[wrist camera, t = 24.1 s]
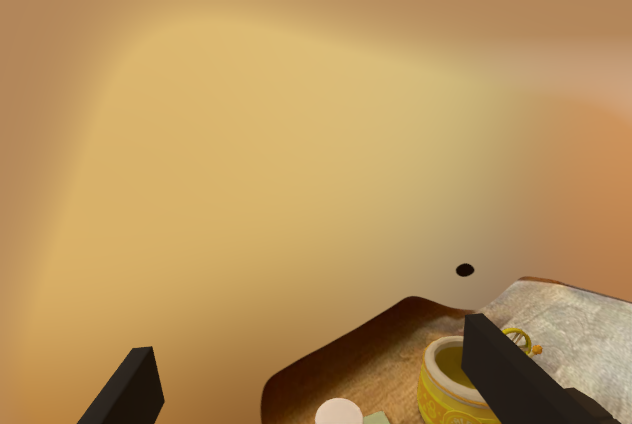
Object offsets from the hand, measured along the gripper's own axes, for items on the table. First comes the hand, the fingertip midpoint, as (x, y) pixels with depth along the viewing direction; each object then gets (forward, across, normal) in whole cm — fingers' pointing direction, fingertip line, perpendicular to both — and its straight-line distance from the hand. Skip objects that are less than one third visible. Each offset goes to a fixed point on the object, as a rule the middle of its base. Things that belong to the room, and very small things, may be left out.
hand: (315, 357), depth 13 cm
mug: (+14, +18, -24) cm, 33 cm away
